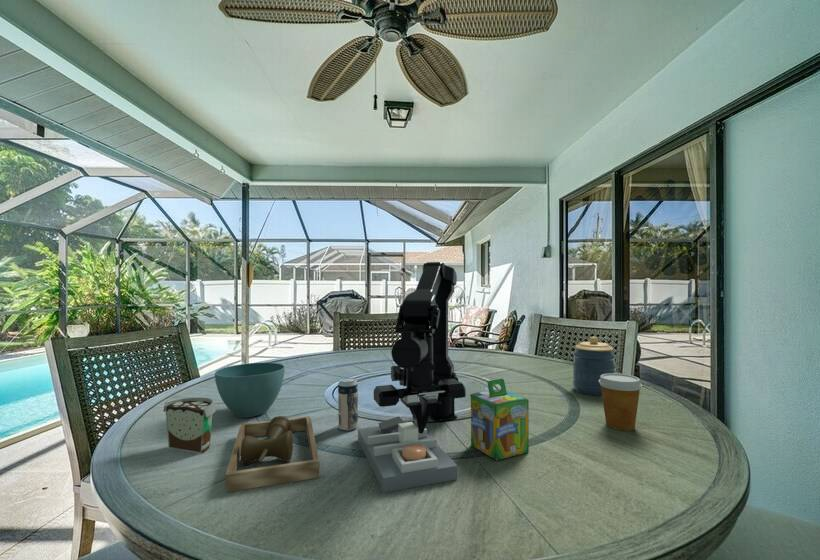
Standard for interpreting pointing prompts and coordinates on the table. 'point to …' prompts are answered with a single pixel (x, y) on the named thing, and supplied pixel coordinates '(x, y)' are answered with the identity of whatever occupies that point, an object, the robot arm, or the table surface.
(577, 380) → the canister
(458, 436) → the table surface
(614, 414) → the disposable coffee cup
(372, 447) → the panel
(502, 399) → the chalk box
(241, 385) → the teal bowl
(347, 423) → the beer can
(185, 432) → the food container
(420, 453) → the push button
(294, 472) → the tray
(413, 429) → the slider knob
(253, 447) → the kendama
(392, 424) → the rocker switch
